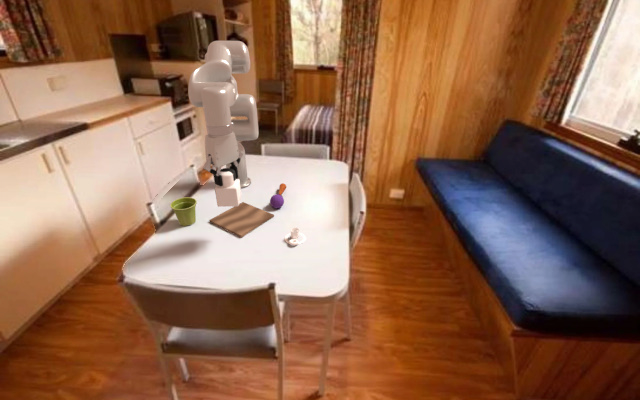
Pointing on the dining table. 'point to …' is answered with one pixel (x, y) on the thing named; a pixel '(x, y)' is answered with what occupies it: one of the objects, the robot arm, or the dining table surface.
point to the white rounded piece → (294, 237)
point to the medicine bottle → (228, 189)
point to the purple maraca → (278, 197)
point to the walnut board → (241, 219)
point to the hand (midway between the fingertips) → (227, 180)
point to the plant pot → (185, 210)
